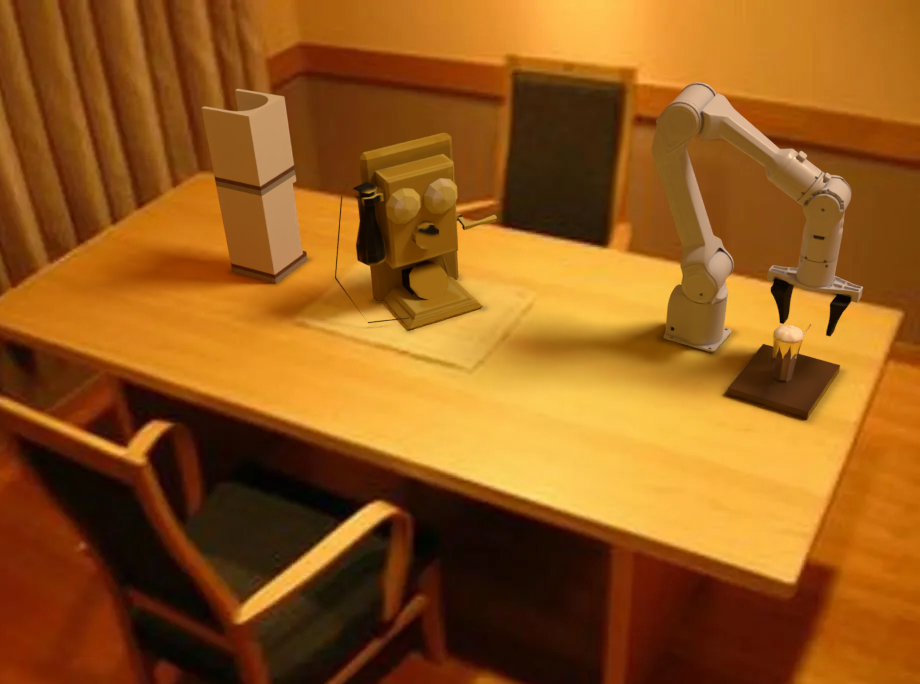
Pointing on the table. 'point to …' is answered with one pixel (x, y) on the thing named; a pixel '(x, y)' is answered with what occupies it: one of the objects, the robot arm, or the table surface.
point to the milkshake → (786, 351)
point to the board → (784, 383)
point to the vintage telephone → (412, 230)
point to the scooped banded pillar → (256, 185)
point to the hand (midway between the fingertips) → (806, 326)
